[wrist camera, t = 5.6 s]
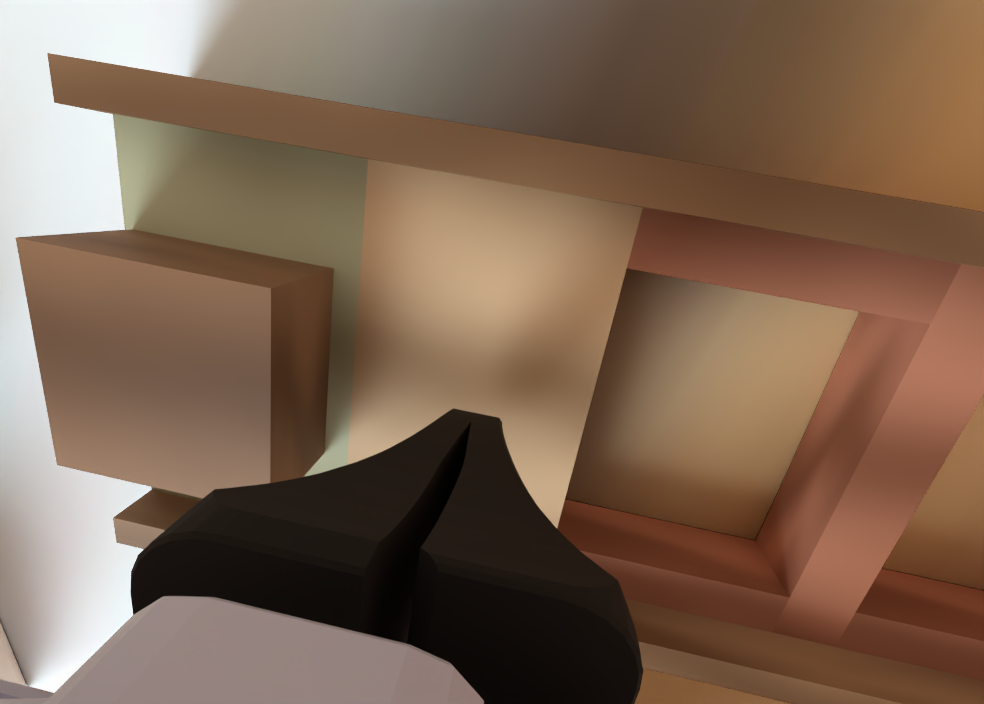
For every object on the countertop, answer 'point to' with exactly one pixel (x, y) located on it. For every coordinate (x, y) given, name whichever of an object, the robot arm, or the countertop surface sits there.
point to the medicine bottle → (8, 662)
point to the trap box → (601, 350)
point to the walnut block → (179, 358)
